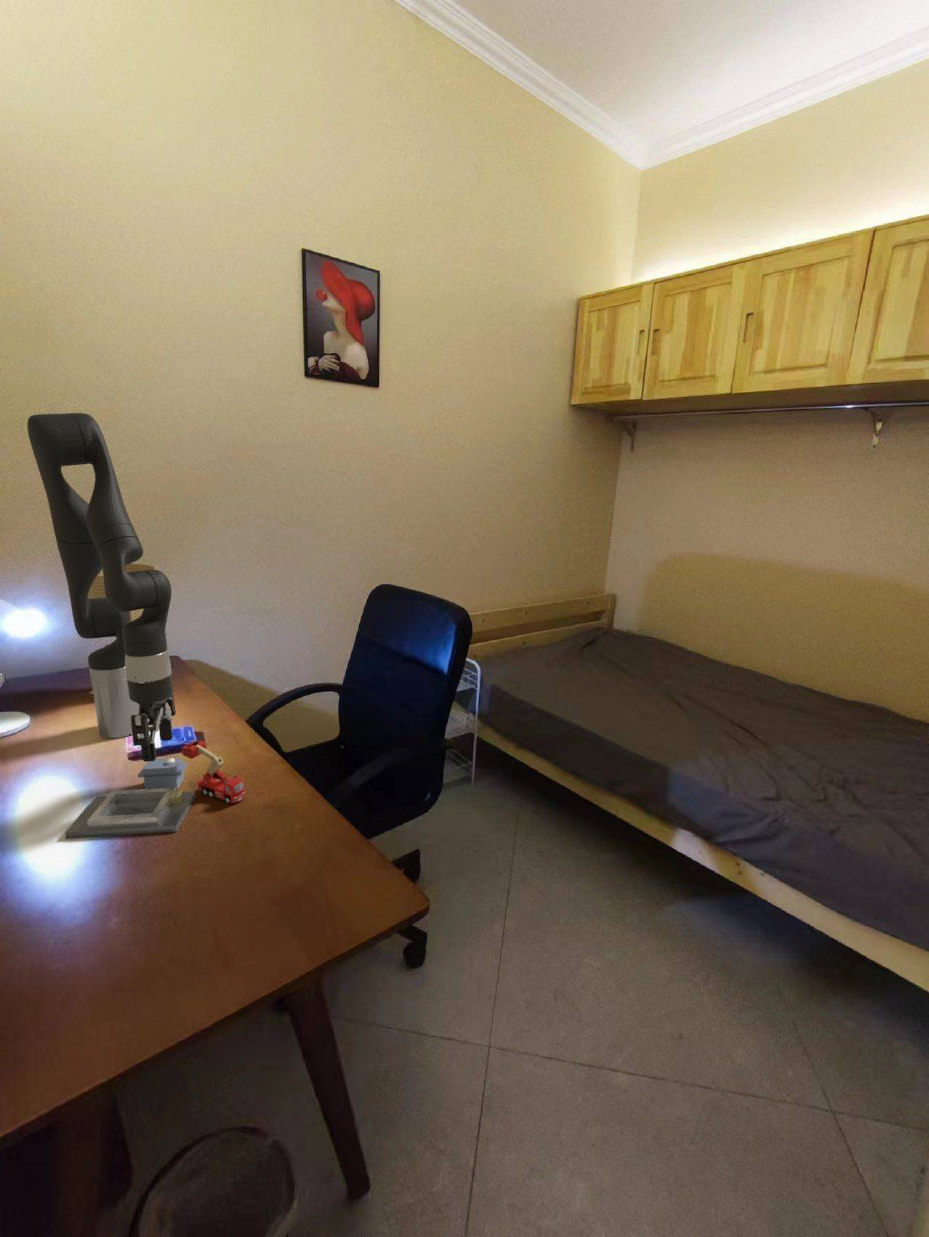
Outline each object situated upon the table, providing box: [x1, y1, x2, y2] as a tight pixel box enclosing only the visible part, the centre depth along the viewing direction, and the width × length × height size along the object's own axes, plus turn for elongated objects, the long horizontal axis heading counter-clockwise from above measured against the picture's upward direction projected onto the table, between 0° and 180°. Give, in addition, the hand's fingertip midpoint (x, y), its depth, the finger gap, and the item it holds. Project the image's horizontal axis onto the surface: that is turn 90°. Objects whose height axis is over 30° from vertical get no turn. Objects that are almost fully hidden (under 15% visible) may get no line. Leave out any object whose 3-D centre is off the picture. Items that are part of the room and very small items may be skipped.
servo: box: [137, 757, 189, 790], centre depth 110 cm, size 4×8×6 cm, turn 99°
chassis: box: [64, 788, 197, 840], centre depth 100 cm, size 11×18×3 cm, turn 99°
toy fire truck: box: [181, 740, 246, 804], centre depth 108 cm, size 3×14×10 cm, turn 65°
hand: (158, 749), depth 108 cm, fingers open, 8 cm apart
